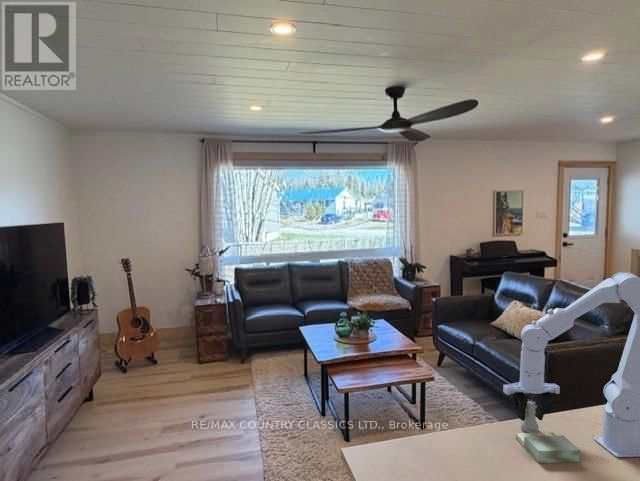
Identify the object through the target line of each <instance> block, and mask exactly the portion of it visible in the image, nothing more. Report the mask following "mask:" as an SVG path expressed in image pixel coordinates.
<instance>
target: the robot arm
mask: <svg viewBox="0 0 640 481" xmlns="http://www.w3.org/2000/svg"><path fill="white" fill-rule="evenodd" d="M620 299H622V300H623V301H625V302H626V303H627V305H628V306H629V308H630V309H631V310H632V311H633V312H634V315H633V319H632V323H631V325H630V329H629V332H628V335H627V339H626V342H625V344H624V348H623V352H622V354H621V357H620V358H621V359H620V360H619V365H618V368H617V371H616V372H615V373H613V374H612V376H611V379H610V381H609V382H607V383H606V384H605V385H604V386H603V391H602V392H603V396H604V397H605V399H606V400H607V402H606V404H605V406H604V407H603V422H602V436H594V437H593V440H594V441H595V442H597V443H598V444H599V445H601V446H602V447H603V448H605V449H606V451H608V452H609V453H610V454H611V455H613V456H614V457H616V458H636V457H637V458H639V457H640V276H637V275H635V274H634V273H632V272H629V271H620V272H617V273H615V274H613V276H611V277H609V278H606V279H604V280H603V281H601V282H600V283H599V284H597V285H596V286H595V287H593V288H592V289H591V290H589V291H588V292H586V293H585V294H583V295H582V296H579V298H577V299H576V300H575V301H573V302H572V303H571V304H569V305H568V306H566V307H565V308H561V307H556V308H554V309H552V308H549V309H548V310H546V312H547V313H546V314H545V315H543V316H542V317H541V318H539V319H538V320H535V319H533V320H532V321H531V324H526V325H524V327H523V328H522V329H521V331H520V337H521V341H522V343H521V351H520V361H519V362H520V365H519V366H520V367H519V368H520V369H519V371H520V372H519V381H518V382H513V383H508V384H503V385H502V386H503V387H502V391H503V393H504V394H505V395H507V396H510V395H511V397H512V399H513V401H514V405H515V409H516V412H517V417H518V418H519V420H520V421H521V422H522V421H525V411H526V405H527V402H528V400H529V399H528V398H527V397H526V394H533V395H534V401H535V402H536V405H537V408H536V409H535V410H536V413H535V418H537V419H538V420H539V421H543V418H544V416H545V413H546V411H547V409H548V407H549V405H550V404H551V403H552V402H553V401H554V396H553V395H552V394H553V393H554V394H556V395H557V394H558V395H559V394H560V390H561V387H560V386H559V385H557V384H556V383H547V382H545V362H546V354H545V349H546V348H547V346H548V342H549V341H551V340H555V338H557V337H559V336H560V335H562V334H563V333H565V332H567V331H568V330H569V329H571V328H573V327H574V323H575V320H576V319H578V318H579V317H581V316H583V315H585V314H586V313H588V312H590V311H591V310H593V309H595V308H597V307H598V306H600V305H603V304H604V303H607V304H608V303H611V304H612V303H613V304H621V300H620ZM551 393H552V394H551Z"/></svg>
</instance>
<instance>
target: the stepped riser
mask: <svg viewBox="0 0 640 481" xmlns="http://www.w3.org/2000/svg"><path fill="white" fill-rule="evenodd" d="M515 440H516V441H517V442H518V443H519V445H521V446H522V447H523V449H524V451H526V452H527V453H528V454H529V455H530V456H531V458H533V459H534V460H535V462H536V463H537V464H545V463H546V464H552V463H580V452H581V451H580V449H579V447H577V446H576V445H575V444H573V443H572V442H571V441H570V440H569V439H568V438H567V437H566V436H565V435H557V434H556V433H554V432H537V433H527V432H521V433H520V432H518V433H517V432H516V433H515Z"/></svg>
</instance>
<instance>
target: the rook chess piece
mask: <svg viewBox="0 0 640 481" xmlns="http://www.w3.org/2000/svg"><path fill="white" fill-rule="evenodd" d="M536 408H537V405H536V402H535V400H533V399H531V400H530V399H528V402H527V405H526V411H525V421H522V420H521V422H520V429H521V430H522V431H523V432H524V433H539V431H540V430H539V424H538V422H537V420H536V418H537V417H536V416H535V413H536V410H535V409H536Z"/></svg>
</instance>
